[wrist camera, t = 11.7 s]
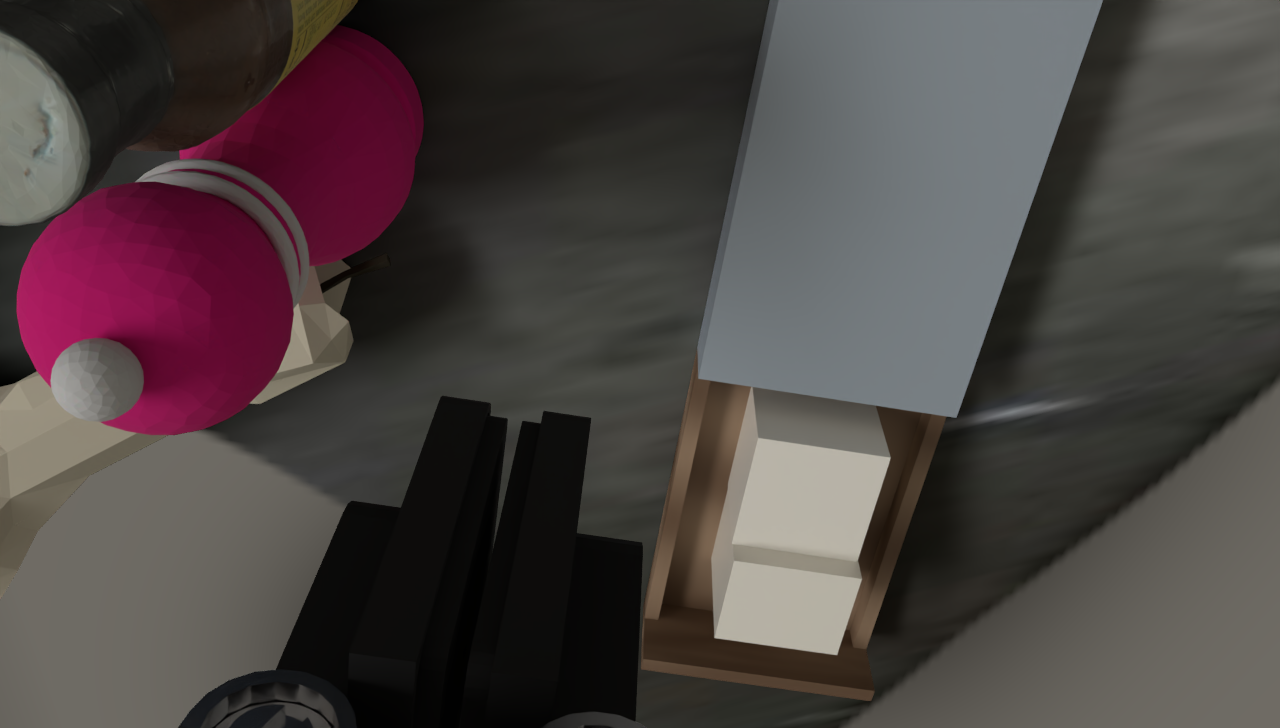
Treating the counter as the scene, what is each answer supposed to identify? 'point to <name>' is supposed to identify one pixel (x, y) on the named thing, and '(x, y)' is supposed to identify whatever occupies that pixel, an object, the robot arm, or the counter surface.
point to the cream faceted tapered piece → (75, 448)
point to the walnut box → (689, 532)
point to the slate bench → (884, 192)
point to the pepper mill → (220, 246)
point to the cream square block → (780, 595)
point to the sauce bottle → (132, 83)
